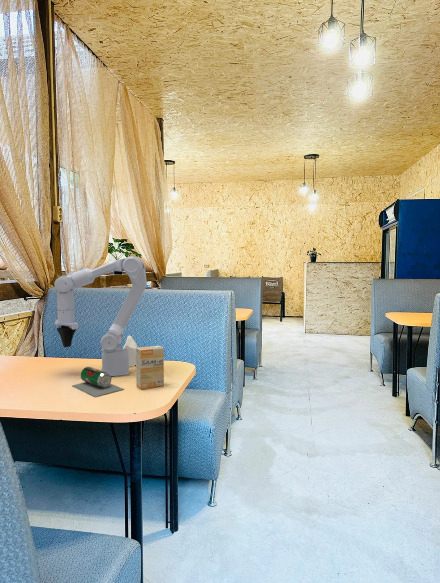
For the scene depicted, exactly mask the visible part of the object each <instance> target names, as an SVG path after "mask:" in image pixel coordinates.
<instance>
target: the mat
mask: <svg viewBox="0 0 440 583" xmlns="http://www.w3.org/2000/svg"><path fill="white" fill-rule="evenodd" d="M71 386H72V387H73V388H75V389H76V390H79V391H81V392H83V393H85V394H87V395H89V396H92V398H97V397H102V396H105V395H109V394H113V393H117V392H121V391H124V390H125V388H123V387H120V386H118V385H116V384H113V383H110V385H109V386H108V387H105V388H100V387H98V386H95V385H92V384H90V383H87V382H85V381H84V382H81V383H77V384H73V385H71Z"/></svg>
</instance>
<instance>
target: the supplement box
mask: <svg viewBox="0 0 440 583" xmlns="http://www.w3.org/2000/svg"><path fill="white" fill-rule="evenodd" d="M164 363H165V349H164V347H163V346H161V345H151V346H141V347H139V346H137V348H136V366H135V369H136V370H135V373H136V374H135V379H136V380H135V381H136V382H135V383H136V384H135V385H136V387H137V388H138V389H139V390H140V389H141V390H147V389H146V388H148V389H152V387H154V388H157V387H158V386H160V387H164V386H165V364H164ZM158 388H159V387H158Z"/></svg>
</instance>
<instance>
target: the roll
mask: <svg viewBox="0 0 440 583" xmlns="http://www.w3.org/2000/svg"><path fill="white" fill-rule="evenodd" d="M137 347H138V345H137V342H136V341H135V340H134V338H133V336H131V334H130V335H128V336H126V340H125V344H124V345H123V347H122V349H127V350H128V358H129V368H131V367H130V366H134V367H136V366H135V365H136V348H137Z"/></svg>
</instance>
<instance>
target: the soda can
mask: <svg viewBox="0 0 440 583" xmlns="http://www.w3.org/2000/svg"><path fill="white" fill-rule="evenodd" d="M101 370H102V369H101ZM101 370H99V369H96V368H94V367H92V366H86V367H84V368H83V369H82V370H81V372H80V379H81V380H82V382H84V383H85V382H87V383H90V384H92V385H95V386H98V387H100V388H105V387H108V386H109V385H110V383H111V382H112V376H110V375H109V374H108V373H107V372H104V371H101ZM111 384H112V383H111Z"/></svg>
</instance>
